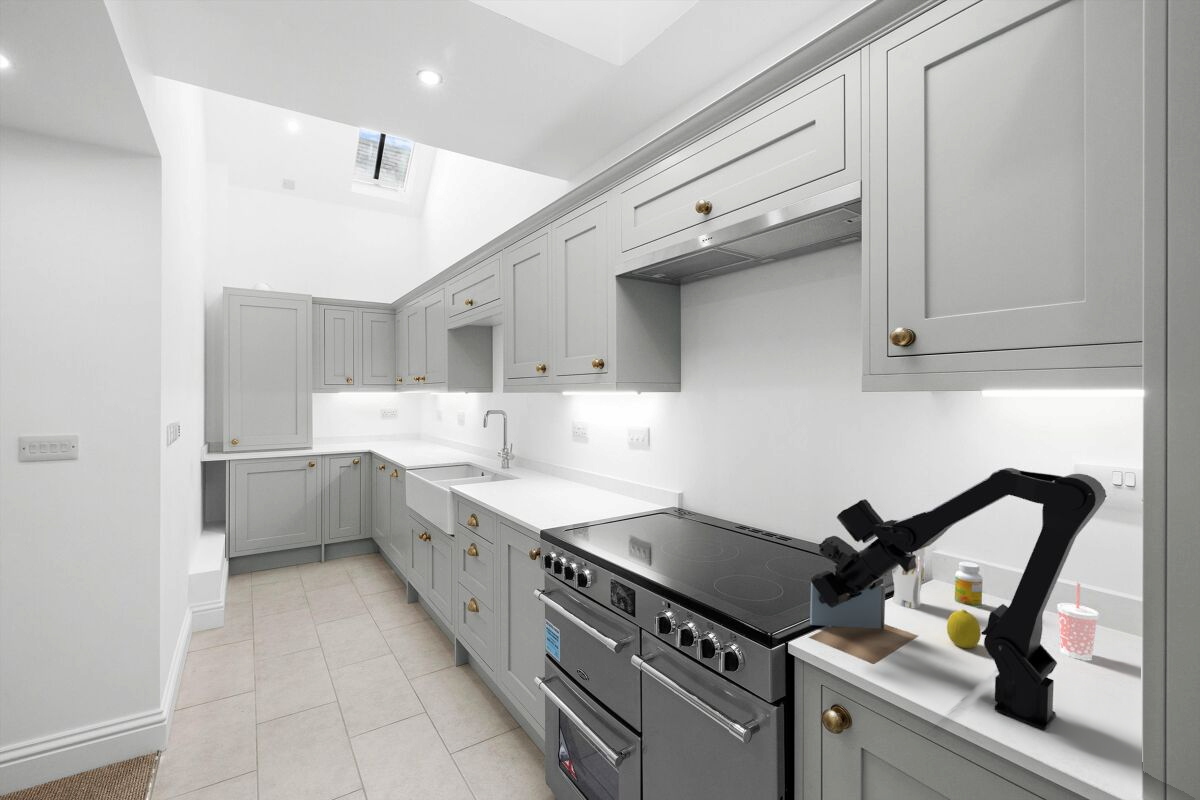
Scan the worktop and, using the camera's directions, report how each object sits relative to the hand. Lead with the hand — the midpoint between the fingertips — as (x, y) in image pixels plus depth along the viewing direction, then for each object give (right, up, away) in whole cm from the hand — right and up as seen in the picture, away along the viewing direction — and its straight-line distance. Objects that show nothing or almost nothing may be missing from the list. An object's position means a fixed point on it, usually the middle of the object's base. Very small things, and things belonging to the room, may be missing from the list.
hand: (820, 601), depth 114 cm
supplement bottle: (+42, -7, +16) cm, 45 cm away
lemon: (+25, -7, -7) cm, 27 cm away
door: (+6, -5, +1) cm, 8 cm away
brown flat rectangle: (+7, -7, -4) cm, 11 cm away
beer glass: (+26, -7, +14) cm, 30 cm away
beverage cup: (+47, -8, -8) cm, 48 cm away
